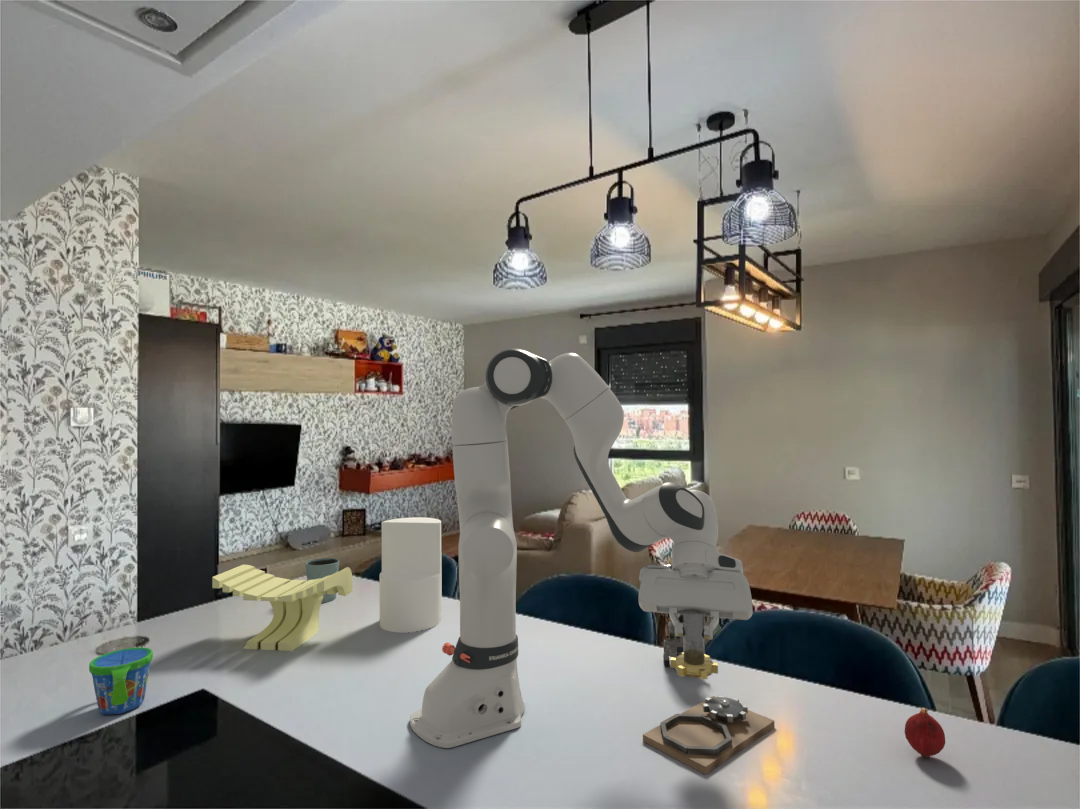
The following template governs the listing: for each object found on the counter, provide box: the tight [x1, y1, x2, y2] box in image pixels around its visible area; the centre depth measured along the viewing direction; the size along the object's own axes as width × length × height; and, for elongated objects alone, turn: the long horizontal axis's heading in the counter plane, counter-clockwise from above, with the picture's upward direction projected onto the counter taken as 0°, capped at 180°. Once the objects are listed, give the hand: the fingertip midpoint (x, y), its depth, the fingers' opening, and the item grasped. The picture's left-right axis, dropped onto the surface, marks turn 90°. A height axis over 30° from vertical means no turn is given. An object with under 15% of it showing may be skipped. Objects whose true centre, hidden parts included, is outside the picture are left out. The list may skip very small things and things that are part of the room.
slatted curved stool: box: [211, 564, 353, 652], centre depth 157 cm, size 30×16×18 cm, turn 83°
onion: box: [904, 707, 946, 758], centre depth 101 cm, size 6×6×8 cm
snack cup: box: [88, 646, 154, 715], centre depth 120 cm, size 16×10×10 cm
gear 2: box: [703, 694, 749, 722], centre depth 111 cm, size 8×8×3 cm
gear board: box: [642, 695, 775, 775], centre depth 108 cm, size 22×13×2 cm, turn 130°
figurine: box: [662, 614, 708, 667], centre depth 136 cm, size 9×12×15 cm
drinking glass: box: [305, 557, 340, 604], centre depth 191 cm, size 10×10×12 cm
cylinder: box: [379, 516, 443, 634], centre depth 169 cm, size 17×17×28 cm
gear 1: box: [669, 610, 719, 680], centre depth 106 cm, size 8×8×10 cm
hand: (693, 636), depth 105 cm, fingers closed on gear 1, 4 cm apart
